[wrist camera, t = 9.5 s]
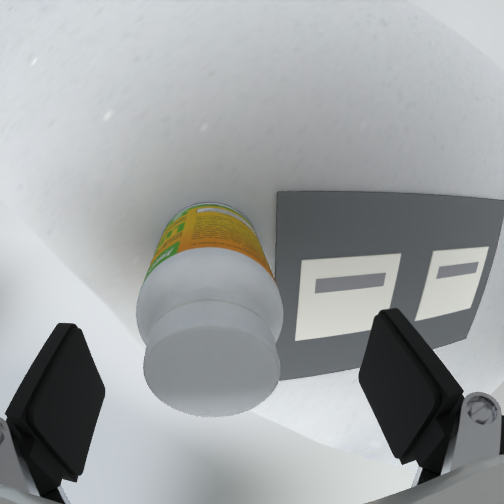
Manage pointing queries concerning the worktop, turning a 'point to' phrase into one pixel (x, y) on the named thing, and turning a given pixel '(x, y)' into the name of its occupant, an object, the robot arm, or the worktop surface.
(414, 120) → the worktop surface
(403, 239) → the label mat
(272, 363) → the supplement bottle
